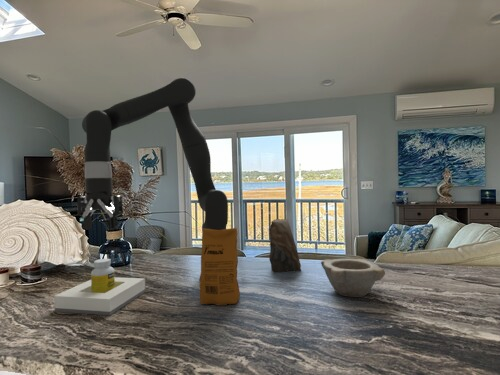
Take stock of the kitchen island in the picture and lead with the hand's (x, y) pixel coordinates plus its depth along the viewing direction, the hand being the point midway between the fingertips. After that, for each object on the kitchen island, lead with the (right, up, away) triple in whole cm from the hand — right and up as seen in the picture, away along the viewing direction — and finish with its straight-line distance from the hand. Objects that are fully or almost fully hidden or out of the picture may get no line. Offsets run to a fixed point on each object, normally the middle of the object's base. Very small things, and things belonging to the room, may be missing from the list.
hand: (100, 229), depth 93 cm
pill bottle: (+1, -22, 0) cm, 22 cm away
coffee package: (+37, -22, -1) cm, 43 cm away
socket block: (+1, -22, 0) cm, 22 cm away
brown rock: (+61, -21, +30) cm, 71 cm away
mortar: (+79, -21, +3) cm, 81 cm away
